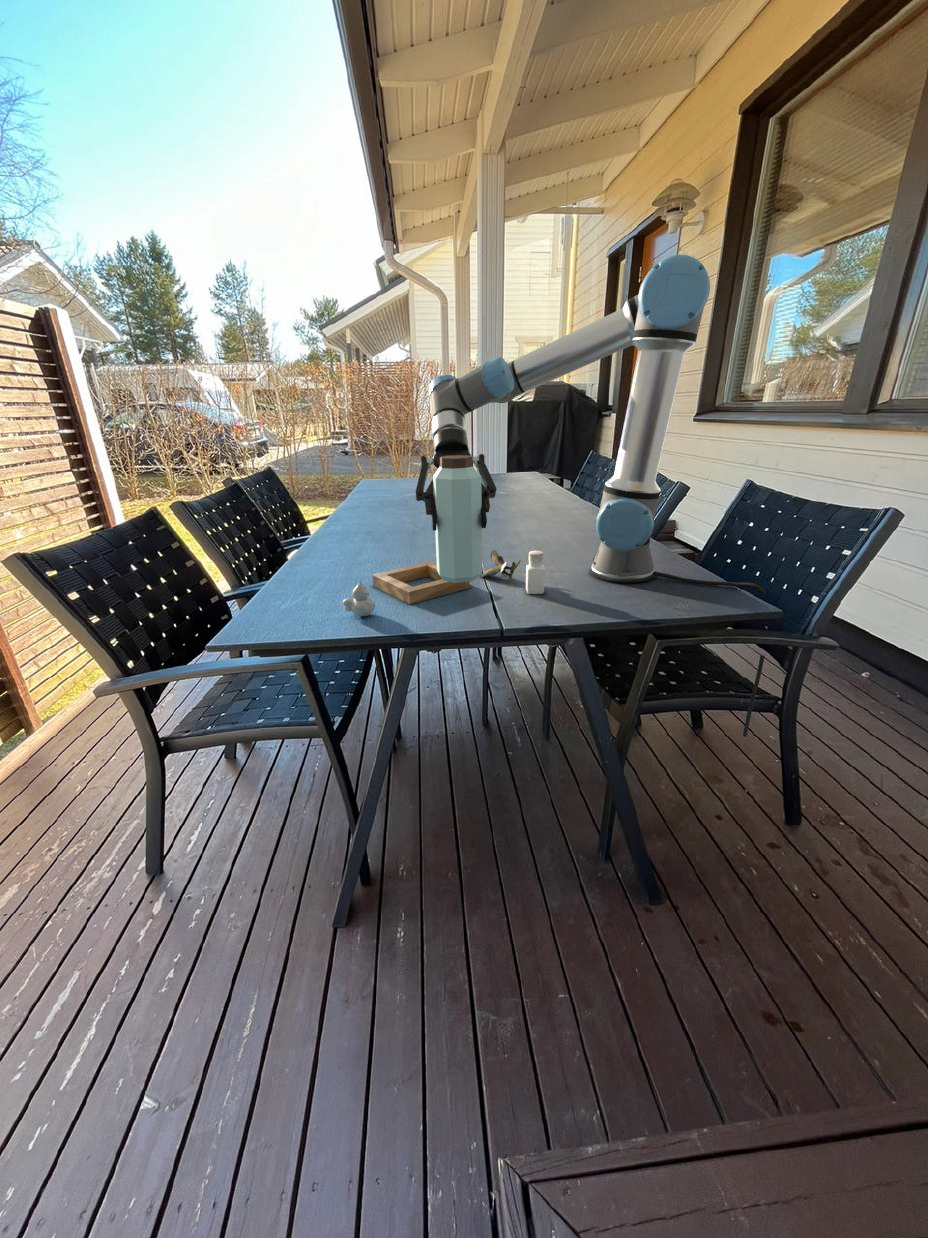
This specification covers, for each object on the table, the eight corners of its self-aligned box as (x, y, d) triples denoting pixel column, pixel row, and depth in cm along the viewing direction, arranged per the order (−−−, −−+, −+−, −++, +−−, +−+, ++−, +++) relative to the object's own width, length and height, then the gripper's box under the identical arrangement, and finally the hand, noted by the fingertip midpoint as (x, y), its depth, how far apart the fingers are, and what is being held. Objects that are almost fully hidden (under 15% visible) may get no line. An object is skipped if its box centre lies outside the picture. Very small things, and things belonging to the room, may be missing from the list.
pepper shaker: (526, 594, 121) (527, 554, 117) (525, 589, 124) (526, 550, 121) (544, 594, 121) (545, 554, 117) (542, 589, 124) (543, 550, 121)
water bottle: (478, 585, 108) (476, 459, 99) (431, 583, 110) (425, 459, 101) (486, 570, 117) (485, 454, 108) (442, 569, 119) (438, 454, 110)
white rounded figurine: (375, 619, 110) (372, 582, 107) (343, 621, 109) (339, 584, 106) (376, 609, 115) (373, 574, 111) (345, 611, 114) (341, 576, 111)
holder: (469, 587, 126) (469, 576, 125) (410, 604, 117) (409, 591, 116) (430, 572, 139) (429, 561, 138) (373, 586, 130) (372, 574, 128)
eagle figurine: (522, 570, 135) (492, 559, 139) (519, 552, 129) (488, 541, 133) (507, 592, 132) (477, 580, 136) (504, 574, 126) (472, 562, 130)
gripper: (497, 448, 119) (510, 532, 111) (400, 451, 117) (405, 538, 109) (502, 424, 112) (516, 512, 104) (398, 427, 110) (404, 517, 102)
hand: (459, 525), depth 106 cm, fingers closed on water bottle, 9 cm apart
